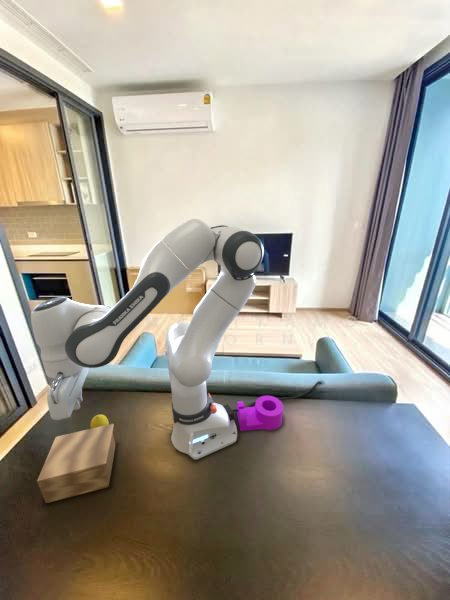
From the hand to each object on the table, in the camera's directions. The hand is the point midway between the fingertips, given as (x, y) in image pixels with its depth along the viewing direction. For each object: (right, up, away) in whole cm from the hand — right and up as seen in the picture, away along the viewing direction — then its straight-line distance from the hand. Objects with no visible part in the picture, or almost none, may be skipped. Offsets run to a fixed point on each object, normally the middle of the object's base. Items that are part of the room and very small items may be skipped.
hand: (77, 405), depth 67 cm
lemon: (-4, -18, +20) cm, 28 cm away
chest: (-3, -23, +8) cm, 24 cm away
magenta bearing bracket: (+52, -16, +25) cm, 60 cm away
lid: (-2, -15, +5) cm, 16 cm away
